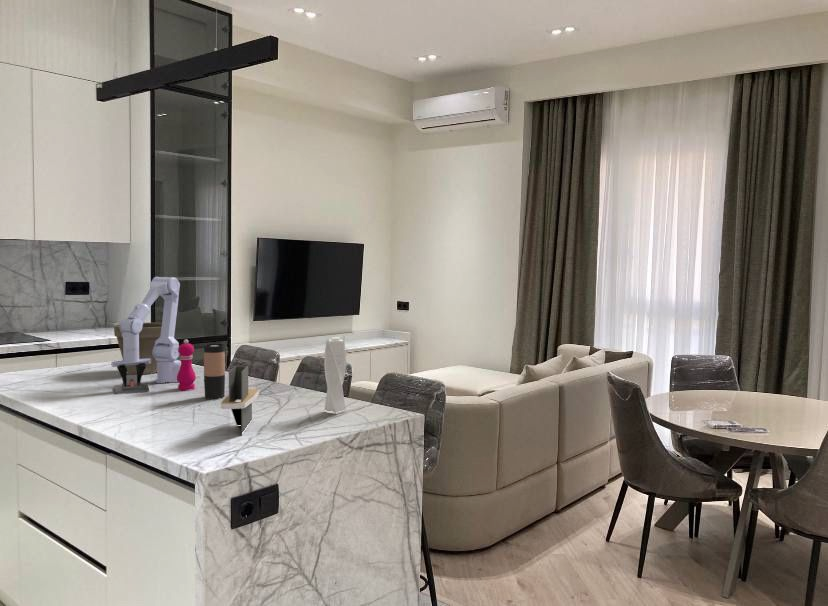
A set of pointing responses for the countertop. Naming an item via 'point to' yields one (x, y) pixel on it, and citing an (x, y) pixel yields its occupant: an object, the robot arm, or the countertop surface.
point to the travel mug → (214, 371)
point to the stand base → (131, 388)
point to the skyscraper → (335, 373)
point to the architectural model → (240, 396)
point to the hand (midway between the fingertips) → (131, 383)
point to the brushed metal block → (131, 378)
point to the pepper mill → (186, 367)
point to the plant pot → (143, 345)
